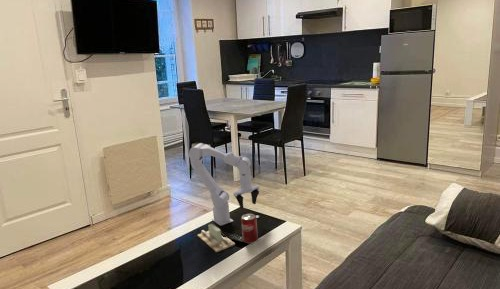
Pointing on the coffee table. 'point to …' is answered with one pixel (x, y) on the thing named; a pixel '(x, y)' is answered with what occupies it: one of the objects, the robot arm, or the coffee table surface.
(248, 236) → the soda can
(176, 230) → the coffee table surface
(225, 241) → the door track
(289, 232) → the coffee table surface
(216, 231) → the door panel
